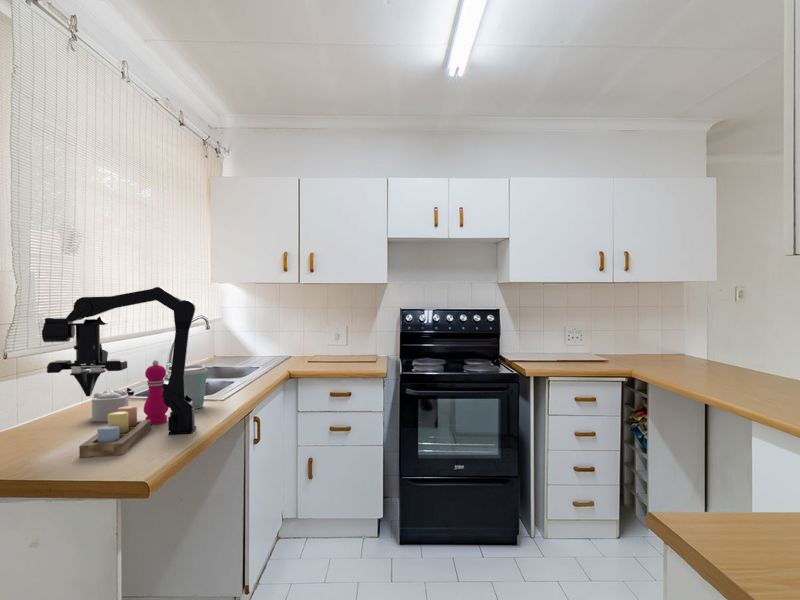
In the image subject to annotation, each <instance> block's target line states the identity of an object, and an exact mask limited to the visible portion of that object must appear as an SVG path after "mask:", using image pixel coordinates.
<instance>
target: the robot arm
mask: <svg viewBox="0 0 800 600" xmlns="http://www.w3.org/2000/svg"><path fill="white" fill-rule="evenodd" d="M154 301H157V302H158V303H160V304H162V305H163V306H165V307H167V308H168V309H170V310H171V311H173V319H174V320H173V321H174V327H175V328H174V329H175V334H174V343H173V350H172V360H171V367H170V368H171V369H170V377H169V378H168V379H169V380H165V379H164V383H163V394H162V396H161V398H163V397H164V399H163V400H164V404H165V405H166V406H167V407H168V409H170V410H171V411H169V416H167V423H168V424H167V427H168V435H177V434H178V435H179V434H181V435H182V434H192V433H193V432H194V431H195V430H196V428H197V425H195V423H196V421H195V417H196V415H195V411H196V410H195V409H192V406H193V400H192V399H191V398H190V397H188V396H187V395H186V388H185V379H184V371H185V366H186V360H187V353H188V343H189V336H190V335H189V334H190V329H191V325H192V322H193V318H194V315H195V313H196V306H195V305H196V304H194V303H193V301H191V300H189V299H181V298H179V297H178V296H176V295H174V294H172V293H171V292H169V291H168V290H166V289H165V288H164V287H160V286H155V287H152V288H149V289H144V290H139V291H138V290H137V291H132V292H126V293H120V294H116V295H111V296H108V295H107V296H83V297H79V298H78V299H76V301H75V302H74V304H73V309H72V310H71V312H70V313H69V314H68V315H67V316H66V317H65V318H64V317H63V318H62V317H61V318H60V317H59V318H58V317H57V318H56V317H45V318H44V323H43V325H42V330H41V337H42V341H43V343H67V342H68V343H69V342H70V341H71V339H74V338H75V345H73V350H74V351H75V357H76V359H75V360H73V361H74V362H72V360H71V359H67V360H63V359H61V360H54V361H51V362H49V363H48V364H47V366H46V373H47V374H54V373H55V374H57V373H59V374H60V373H61V372H62V371H64V370H66V371H67V370H70V372H71V373H70V374H69V375H70V376H73V377H74V378H75V380H76V381H77V382H78V384H79V386H80V388H81V389H82V391H83V393H84V395H85V397H92V394H93V392H94V388H95V386H96V383H97V380H98V379H99V378H100V377H101V374H103V373H105V372H106V371H107V372H119V371H124V370H126V369H127V368H128V361H127V360H126V358H112V359H109V360H108V357H109V352H108V351H107V350H105V349H103V346H102V343H101V340H100V339H101V338H100V337H101V335H100V333H101V332H100V327H101V326H105V325H108V323H109V322H108V321H107V320H106V319H104V318H103V316H98V315H101V314H103V313H106V312H108V311H111V310H114V309H117V308H124V307H129V306H134V305H138V304H139V305H140V304H144V303H148V302H149V303H151V302H154ZM95 316H98V317H97V318H96V319H95V318H92V319H91V317H95ZM85 318H86V319H85ZM81 320H83V322H78V321H81Z"/></svg>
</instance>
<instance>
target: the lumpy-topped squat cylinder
mask: <svg viewBox="0 0 800 600" xmlns="http://www.w3.org/2000/svg"><path fill="white" fill-rule="evenodd" d="M125 406H129V393H128V392H127V390H124V389H123V390H119V389H114V390H113V391H111V390H110V389H106V390H104V391H103V392H100V391H99V392H98V391H97V392H95V393H94V394H93V397H92V398H91V421H92V420H93V421H105V422H107V421H106V420H108V414H110V413H114V412H117V409H118V408H120V407H125ZM93 421H92V422H93Z"/></svg>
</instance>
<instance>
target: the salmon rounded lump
mask: <svg viewBox="0 0 800 600" xmlns="http://www.w3.org/2000/svg"><path fill="white" fill-rule="evenodd" d="M137 411H138V407H137V406H135V405H128V406H125V407H120V408H118V409H117V412H128V421H129V427H130V426H134V425H137V420H138V412H137Z"/></svg>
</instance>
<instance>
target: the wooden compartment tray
mask: <svg viewBox="0 0 800 600" xmlns="http://www.w3.org/2000/svg"><path fill="white" fill-rule="evenodd" d="M151 430H152V425H151V420H145V419H137V425H134V426H130V427H129V431H127V432H125V433H120V434H119V440H118V441H117V442H100V443H98V435H97V433H96V434H94V435H93V436H91V437H90V438H89V439H87V440H86V441H84V442H82V443H81V444H80V445H79V446H78V447H79V451H78V453H79V454H78V455H79V458H80V457H81V458H91V457H90V456H98V457H107V456H106V455H114V456H123V455H124V454H125V453H127V451H128V450H130V449H131V448H132V447H134V445H136V443H138V442H139V441H140V440H141V439H142V438H143V437H144V436H145V435H147V434H146V433H147V432H148V431H149V432H150V431H151ZM149 432H148V433H149ZM137 441H138V442H137ZM122 454H123V455H122Z"/></svg>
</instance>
